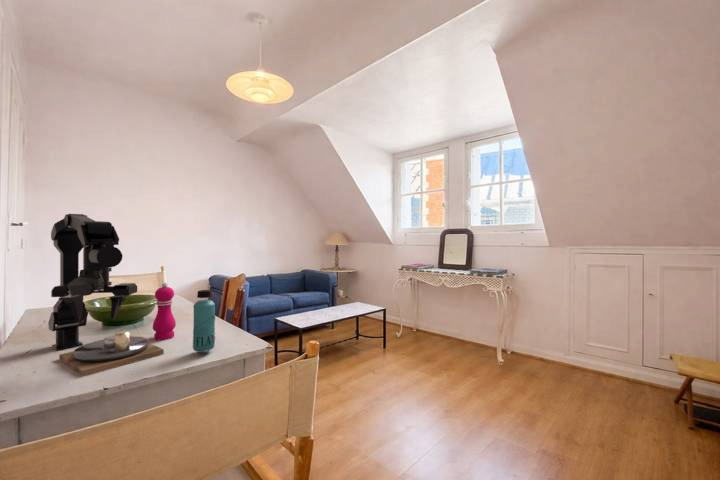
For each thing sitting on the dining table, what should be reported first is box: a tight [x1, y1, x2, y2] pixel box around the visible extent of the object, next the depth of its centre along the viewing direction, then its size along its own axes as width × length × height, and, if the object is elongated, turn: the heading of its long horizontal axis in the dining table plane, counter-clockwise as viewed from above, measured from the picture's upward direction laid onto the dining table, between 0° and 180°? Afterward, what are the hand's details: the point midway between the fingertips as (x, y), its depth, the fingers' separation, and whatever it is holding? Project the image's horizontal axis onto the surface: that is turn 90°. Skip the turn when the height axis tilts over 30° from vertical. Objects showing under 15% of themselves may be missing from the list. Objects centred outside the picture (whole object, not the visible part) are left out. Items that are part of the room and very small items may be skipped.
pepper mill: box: [152, 282, 177, 341], centre depth 117 cm, size 7×7×20 cm
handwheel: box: [73, 330, 149, 362], centre depth 98 cm, size 18×18×7 cm
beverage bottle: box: [192, 289, 216, 353], centre depth 103 cm, size 6×7×20 cm
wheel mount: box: [58, 342, 165, 377], centre depth 98 cm, size 20×20×2 cm
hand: (96, 320), depth 92 cm, fingers open, 8 cm apart
